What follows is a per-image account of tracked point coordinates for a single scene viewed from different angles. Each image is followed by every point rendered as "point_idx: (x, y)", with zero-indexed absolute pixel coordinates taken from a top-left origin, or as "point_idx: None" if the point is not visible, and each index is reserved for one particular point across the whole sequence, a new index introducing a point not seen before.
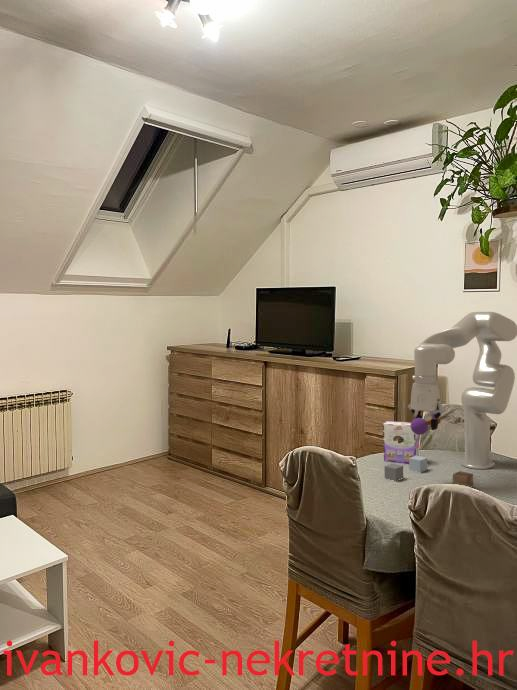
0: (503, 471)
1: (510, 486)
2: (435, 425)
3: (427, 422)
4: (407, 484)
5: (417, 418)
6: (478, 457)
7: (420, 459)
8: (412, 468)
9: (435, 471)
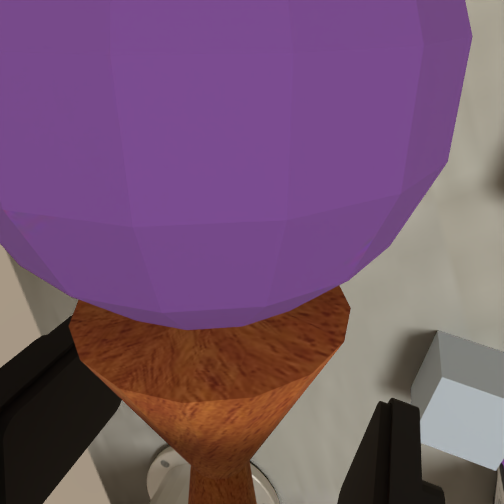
0: (106, 435)
1: (16, 269)
2: (23, 350)
3: (194, 484)
4: (465, 77)
5: (68, 19)
6: (173, 494)
7: (445, 399)
8: (496, 357)
9: (360, 372)
